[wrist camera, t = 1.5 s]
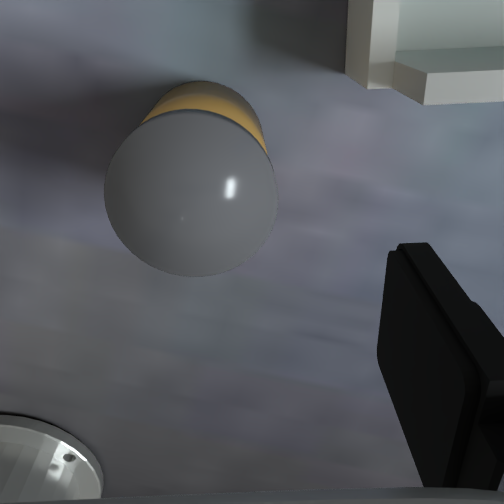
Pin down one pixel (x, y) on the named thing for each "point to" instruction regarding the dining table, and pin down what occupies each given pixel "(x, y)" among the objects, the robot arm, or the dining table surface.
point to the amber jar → (193, 183)
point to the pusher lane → (428, 48)
